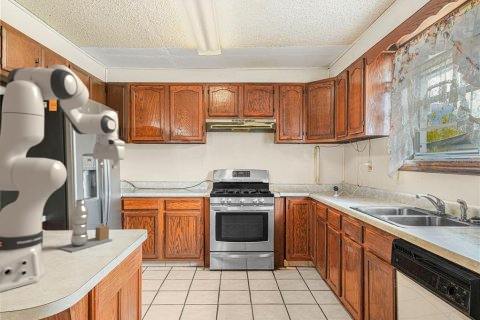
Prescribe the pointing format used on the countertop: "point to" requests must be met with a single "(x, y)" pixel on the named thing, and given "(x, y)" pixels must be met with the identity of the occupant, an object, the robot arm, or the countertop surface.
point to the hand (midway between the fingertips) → (107, 168)
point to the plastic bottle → (79, 224)
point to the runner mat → (91, 240)
